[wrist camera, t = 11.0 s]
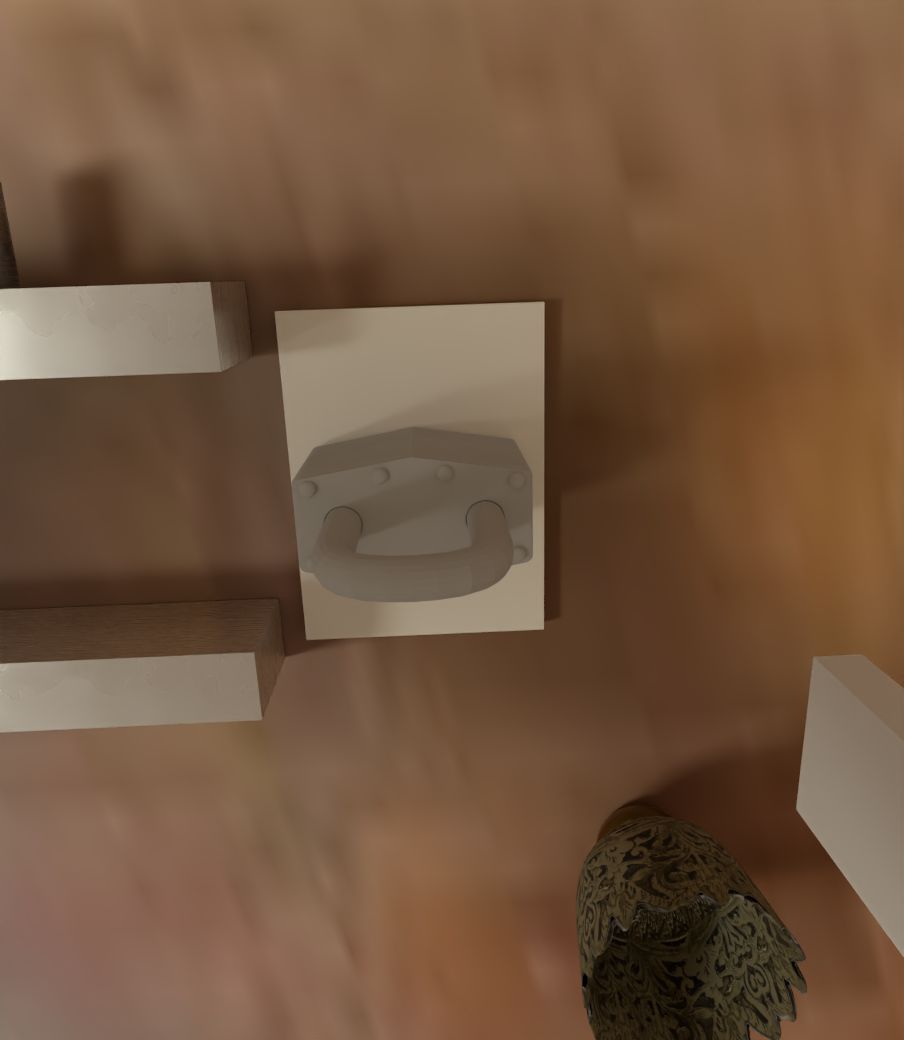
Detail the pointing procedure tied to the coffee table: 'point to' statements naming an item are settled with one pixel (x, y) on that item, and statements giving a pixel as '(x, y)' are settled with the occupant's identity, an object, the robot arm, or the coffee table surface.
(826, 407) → the coffee table surface
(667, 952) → the cup
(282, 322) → the pad
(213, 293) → the vise
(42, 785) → the coffee table surface
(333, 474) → the padlock
